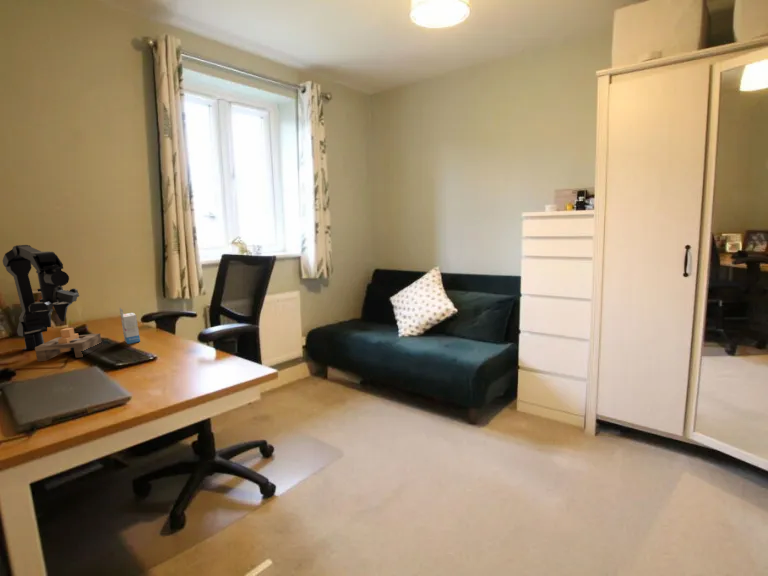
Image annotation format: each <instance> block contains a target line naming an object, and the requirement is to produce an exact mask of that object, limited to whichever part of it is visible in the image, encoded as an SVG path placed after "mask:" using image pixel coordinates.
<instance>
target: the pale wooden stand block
mask: <svg viewBox="0 0 768 576" xmlns="http://www.w3.org/2000/svg"><path fill="white" fill-rule="evenodd" d="M59 331H60V335H61V336H60V337H62V338H60V339H58V343H59V344H63V343H70V342H69V341H72V340H74V339H79V333H75V329H74V327H67V328H66V327H65V328H62V329H60V330H59ZM70 351H72V348H64V349H60V352H62V353H67V352H70Z"/></svg>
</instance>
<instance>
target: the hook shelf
mask: <svg viewBox="0 0 768 576" xmlns="http://www.w3.org/2000/svg"><path fill="white" fill-rule="evenodd" d="M78 335H79V334H78ZM60 338H62V336H60V337H55V338H53V339H51V340H48V341H46V342H44V344H41V345H39V346H37V347H35V349H34V350H35V354H36V359H37V362H44V361H45V362H46V361H49V360H51V359H52V358H55V357H57V356H58V355H60V354H63V352H60V349H64V348H71V349H72V348H73V351H74V355H75V358H76V359H77V358H84V357H83V354H82V352H81V351H84V350H86V349H88V348H90V347H93V346H95V345H97V344H99V343H101V342H102V337H101V333H91V334H90V333H89V334H80V335H79V339H74V340H72V341H69V342H70V343H63V344H59V343H58V339H60ZM102 343H103V342H102Z"/></svg>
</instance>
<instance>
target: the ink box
mask: <svg viewBox="0 0 768 576" xmlns="http://www.w3.org/2000/svg"><path fill="white" fill-rule="evenodd" d="M119 313H120V321H121V327H122V334H123V337H124V342H125V343H126V344H127V345H131V344H136V343H140V342H141V337H140V332H139V331H140V330H139V326H138V319H137V314H135V313H134V312H128V313H124V310H123V308H121V307H119Z"/></svg>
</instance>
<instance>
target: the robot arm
mask: <svg viewBox="0 0 768 576" xmlns="http://www.w3.org/2000/svg"><path fill="white" fill-rule="evenodd" d="M2 264H3V265H2V266H4V267H5V269H6V272H7V273H9V274H10V275H11V276H12V277H13V280H14V284H15V288H16V291H17V296H18V299H19V303H20V307H21V308H20V309H21V313H20V316H19V317H18V325H17V330H16V333H17V335H18V337H23V338H24V343H25V347H24V348H22V351H29V350H35V347H37V346H39V345H41V344H44V343H45V339H44V337H43V336H44V335H43V333H46V332H48V328H51V327H52V312H53V311H55V312H56V315H57V317H58V318H59V320H60V322H65V321H66V316H67V311H68V308H69V306H71V305H73V303H74V302H76V301H77V299H78V298H79V297H80V294H79V291H78V289H77V288H70V290H64V288H63V286H66V285H67V284H68V283H69V281H70V276H69V274H68V273H67V272H65V271H63V270H64V263H62V261H61V260H60V258H59V256H58V255H57V254H56V253H55V252H54V251H42V250H39V249H37V248H34V247H32V246H31V245H28V244H20V245H19V244H18V245H14V246H12V249H10V250H9V251H7V252H5V253H4V255H3V257H2ZM32 267H34V269H35V270H36V271H35V273H36V274H37V279H38V285H39V288H37V292H40V294H41V295H40V296H41V298H40V299H39V301H35V297H34V296H35V295H34V293H33V288H32V283H31V280H30V277H29V274H30V272H31V270H32Z"/></svg>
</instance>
